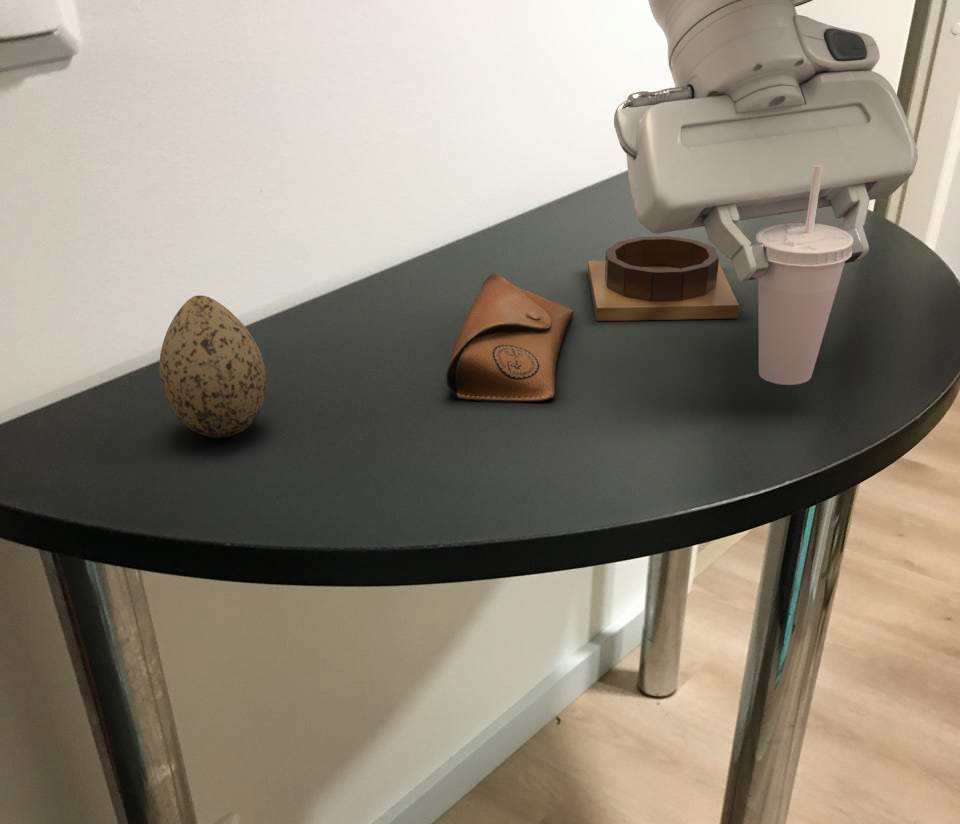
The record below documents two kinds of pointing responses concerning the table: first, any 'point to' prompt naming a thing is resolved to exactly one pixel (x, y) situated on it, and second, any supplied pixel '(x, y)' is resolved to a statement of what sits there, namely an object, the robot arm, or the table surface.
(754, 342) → the table surface
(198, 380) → the decorative egg
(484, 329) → the sunglasses case
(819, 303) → the smoothie
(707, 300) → the dock pad
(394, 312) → the table surface
